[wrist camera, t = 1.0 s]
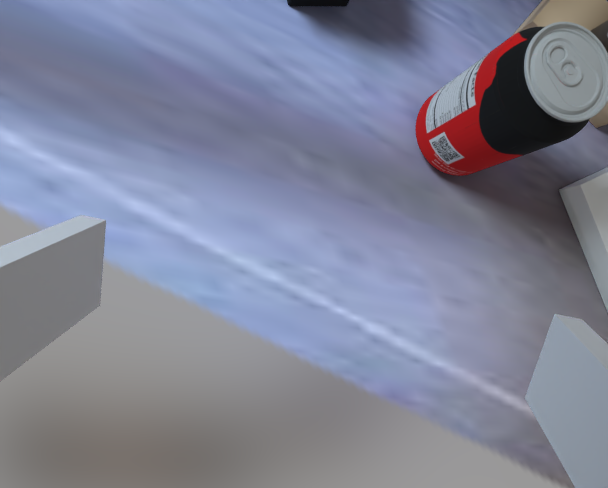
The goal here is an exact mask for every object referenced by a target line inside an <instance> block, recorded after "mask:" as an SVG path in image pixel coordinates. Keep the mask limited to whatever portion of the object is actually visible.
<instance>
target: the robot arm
mask: <svg viewBox="0 0 608 488" xmlns="http://www.w3.org/2000/svg"><path fill="white" fill-rule="evenodd" d="M105 228H106V220H103V219H98V218H93V217H89V216H84V215H80V216H77V217H75V218H72V219H70V220H67V221H64V222H62V223H59V224H57V225H54V226H51V227H49V228H46V229H44V230H41V231H39V232H36V233H34V234H31V235H28V236H26V237H23V238H21V239H18V240H16V241H13V242H10V243H8V244H5V245H3V246H0V381H1V380H3V379H4V378H5V377H7V376H8V375H9V374H11V373H12V372H13V371H15V370H16V369H17V368H18V367H20V366H21V365H22V364H24V363H25V362H26V361H28V360H29V359H30V358H32V357H33V356H34V355H35V354H37V353H38V352H39V351H41V350H42V349H43V348H45V347H46V346H47V345H49V344H50V343H51V342H52V341H54V340H55V339H56V338H58V337H59V336H60V335H61V334H63V333H64V332H66V331H67V330H68V329H70V327H72V326H74V325H75V324H76V323H77V322H79V321H80V320H81V319H83V318H84V317H85V316H87V315H88V314H89V313H90V312H92V311H93V310H94V309H96V308H97V307H98V306H100V298H101V283H102V269H103V256H104V242H105ZM525 399H526V401H527V403H528V405H529V406H530V408H531V410H532V412H533V414H534V415H535V417H536V419H537V421H538V422H539V424H540V426H541V428H542V430H543V431H544V433H545V435H546V437H547V438H548V440H549V442H550V444H551V446H552V447H553V449H554V451H555V453H556V454H557V456H558V458H559V460H560V462H561V463H562V465H563V467H564V469H565V470H566V472H567V474H568V476H569V477H570V479H571V481H572V483H573V485H574V486H575V488H608V344H607V343H606V342H605V341H604V340H603V339H602V338H601V337H600V336H599V335H598V334H597V333H596V332H595V331H594V330H593V329H592V328H591V327H590V326H589V325H588V324H587V323H585V322H584V321H583V320H582V319H578V318H573V317H568V316H563V315H559V314H554V317H553V320H552V323H551V326H550V328H549V331H548V334H547V337H546V340H545V342H544V345H543V348H542V351H541V354H540V357H539V359H538V362H537V365H536V368H535V371H534V374H533V376H532V379H531V382H530V385H529V388H528V391H527V393H526V396H525Z"/></svg>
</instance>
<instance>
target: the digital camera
mask: <svg viewBox="0 0 608 488" xmlns="http://www.w3.org/2000/svg"><path fill="white" fill-rule="evenodd" d="M287 2H288V5H289V6H346V5H347V4H348V2H349V0H287Z"/></svg>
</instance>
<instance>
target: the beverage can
mask: <svg viewBox="0 0 608 488" xmlns="http://www.w3.org/2000/svg"><path fill="white" fill-rule="evenodd" d="M607 102H608V53H607V51H606V49H605V47H604V46H603V44H602V43H601V41H600V40H599V39H598V38H597V37H596V36H595V35H594V34H593V33H592V32H591V31H589V30H588V29H586V28H585V27H583V26H581V25H578V24H575V23H572V22H556V23H553V24H550V25H548V26H546V27H532V28H529V29H525V30H522V31H520V32H518V33H516V34H514V35H513V36H512V37H510V38H509V39H507V40H506V41H505V42H503V43H502V44H501V45H499V46H498V47H497V48H495V49H494V50H493V51H491V52H490V53H488V54H487V55H486V56H484V57H483V58H482V59H480V60H479V61H478V62H476V63H475V64H474V65H472V66H471V67H469V68H468V69H467V70H465V71H464V72H463V73H461V74H460V75H459V76H457V77H456V78H455V79H453V80H452V81H450V82H449V83H448V84H446V85H445V86H444V87H442V88H441V89H440V90H438V91H437V92H436V93H434V94H433V95H432V96H430V97H429V98H428V99H427V100H426V101H425V103H424V104H423V105H422V107H421V109H420V111H419V114H418V117H417V121H416V138H417V142H418V145H419V148H420V150H421V152H422V154H423V155H424V157H425V158H426V159H427V161H428V162H429V163H430V164H431V165H432V166H434V167H435V168H436V169H438V170H440V171H442V172H444V173H447V174H450V175H458V176H463V175H469V174H472V173H475V172H477V171H480V170H483V169H486V168H489V167H491V166H494V165H497V164H500V163H503V162H505V161H508V160H511V159H514V158H517V157H519V156H522V155H525V154H528V153H531V152H533V151H536V150H539V149H542V148H545V147H547V146H550V145H553V144H556V143H559V142H561V141H564V140H567V139H569V138H571V137H572V136H574V135H575V134H576V133H578V132H579V131H580V130H581V129H582V128H583V127H584V126H585V125H586V124H587V123H588V121H589V120H590V118H592V117H594V116H595V115H597V114H598V113H599V112H600V111H601V110H602V109H603V108H604V106H605V105H606V103H607Z"/></svg>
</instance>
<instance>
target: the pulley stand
mask: <svg viewBox="0 0 608 488" xmlns="http://www.w3.org/2000/svg"><path fill="white" fill-rule="evenodd" d="M556 22H572V23H575V24H578V25H581V26H583V27H585V28H586V29H588V30H589V31H591V32H592V33H593V34H594V35H595V36H596V37H597V38H598V39H599V40H600V41H601V43H602V44H603V46H604V47H605V49H606V51H607V53H608V2H607V1H606V0H542V1H541V2H540V4H539V5H538V6H537V7H536V8H535V9H534V11H533V12H532V13H531V14H530V15H529V16H528V18H527V19H526V20H525V21H524V22H523V23H522V25H521V26H520V27H519V28H518V29H517V30H516V32H515V33H514V34H516V33H518V32H520V31H522V30H525V29H529V28H532V27H546V26H548V25H550V24H553V23H556ZM514 34H513V35H514ZM513 35H512V36H513ZM512 36H511V37H512ZM589 121H590V122H591V123H592V124H593V125H594V127H595V128H598V127H601V126H604V125H606V124H608V102H607V103H606V105H605V106H604V108H603V109H602V110H601V111H600V112H599V113H598V114H597V115H595V116H594V117H592V118H590V120H589Z"/></svg>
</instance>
